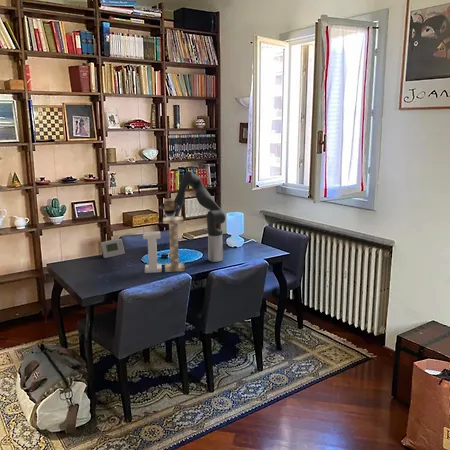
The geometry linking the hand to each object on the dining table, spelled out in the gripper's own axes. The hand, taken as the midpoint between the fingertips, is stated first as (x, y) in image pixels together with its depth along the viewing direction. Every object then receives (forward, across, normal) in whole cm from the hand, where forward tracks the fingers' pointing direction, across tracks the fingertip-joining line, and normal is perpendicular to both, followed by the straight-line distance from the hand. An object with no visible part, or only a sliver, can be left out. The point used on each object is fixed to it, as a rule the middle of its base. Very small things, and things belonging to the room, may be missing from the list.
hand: (169, 202), depth 294 cm
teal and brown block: (0, 0, +3) cm, 3 cm away
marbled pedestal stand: (-4, +2, +42) cm, 43 cm away
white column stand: (-4, -11, +42) cm, 44 cm away
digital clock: (-33, -39, +26) cm, 58 cm away
